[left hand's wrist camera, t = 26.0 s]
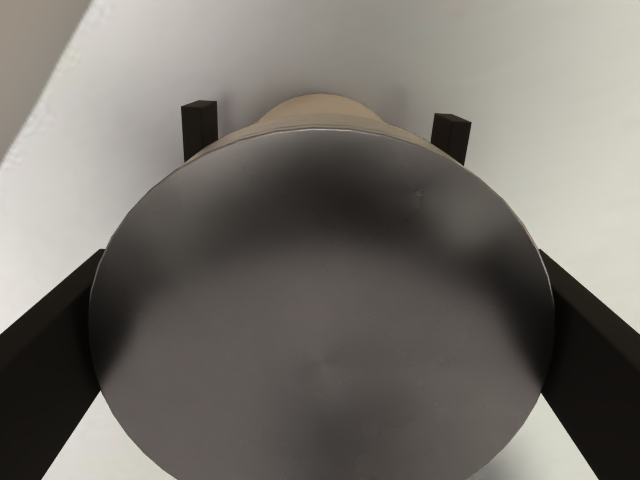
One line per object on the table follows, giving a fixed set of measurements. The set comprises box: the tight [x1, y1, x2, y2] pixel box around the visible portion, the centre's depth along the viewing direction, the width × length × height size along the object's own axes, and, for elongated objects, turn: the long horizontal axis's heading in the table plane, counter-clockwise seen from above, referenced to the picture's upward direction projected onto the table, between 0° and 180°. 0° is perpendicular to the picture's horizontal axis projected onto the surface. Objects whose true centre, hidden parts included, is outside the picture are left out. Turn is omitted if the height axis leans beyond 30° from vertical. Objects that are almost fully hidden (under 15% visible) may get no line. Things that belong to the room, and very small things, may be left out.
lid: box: [88, 113, 556, 480], centre depth 11 cm, size 10×10×2 cm
